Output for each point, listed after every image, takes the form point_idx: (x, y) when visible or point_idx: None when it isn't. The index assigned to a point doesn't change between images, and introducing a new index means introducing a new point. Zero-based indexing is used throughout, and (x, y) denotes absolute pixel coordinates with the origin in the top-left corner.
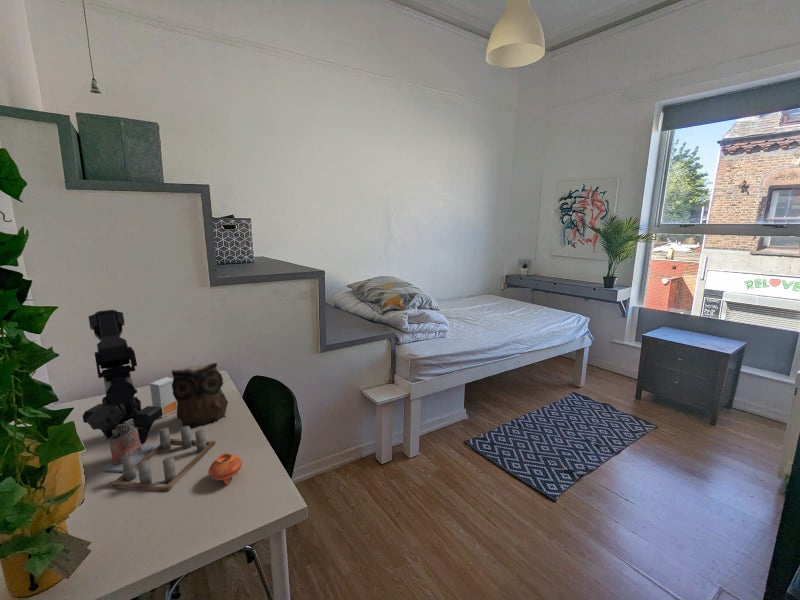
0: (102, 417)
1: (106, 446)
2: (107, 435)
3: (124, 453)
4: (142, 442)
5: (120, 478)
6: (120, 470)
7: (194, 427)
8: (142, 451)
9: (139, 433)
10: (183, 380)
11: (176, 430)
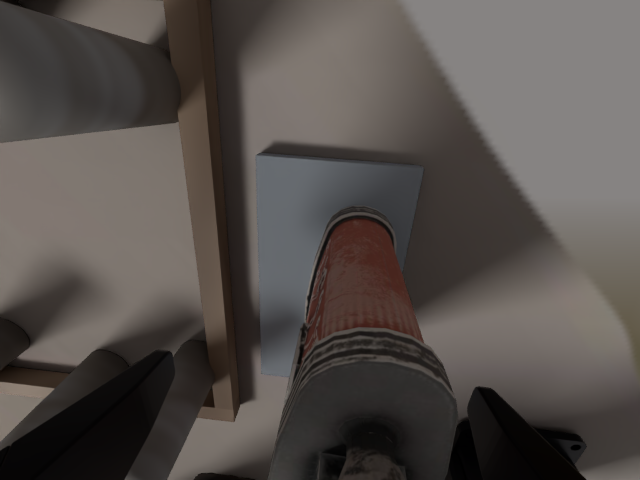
0: None
1: (553, 389)
2: (545, 473)
3: (317, 284)
4: (139, 361)
5: (177, 32)
6: (283, 157)
7: (201, 477)
8: (293, 336)
9: (16, 475)
10: None
11: (268, 467)
